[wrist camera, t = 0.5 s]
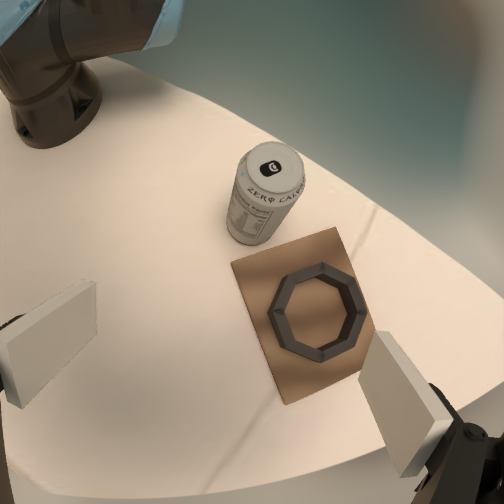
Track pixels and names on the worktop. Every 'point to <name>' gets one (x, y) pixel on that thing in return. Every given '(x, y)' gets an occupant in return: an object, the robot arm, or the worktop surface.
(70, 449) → the worktop surface
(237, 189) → the energy drink can
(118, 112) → the worktop surface
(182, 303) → the worktop surface
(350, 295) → the wooden can holder
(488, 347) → the worktop surface
